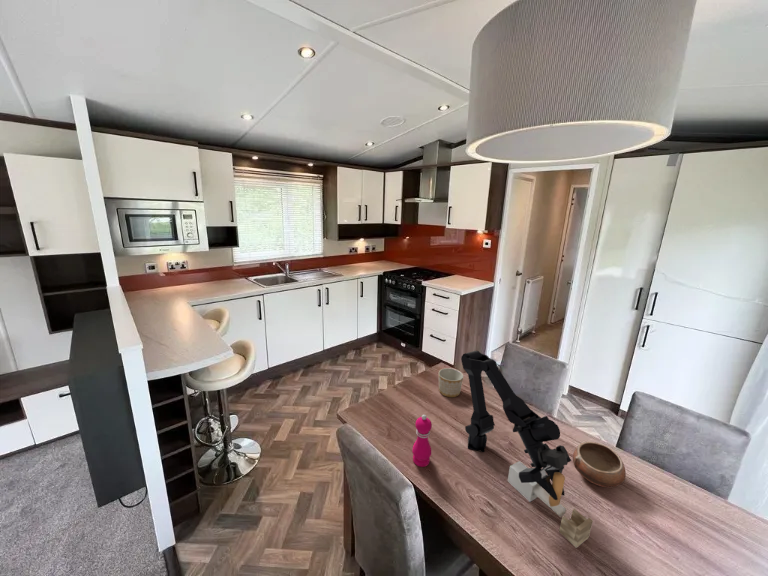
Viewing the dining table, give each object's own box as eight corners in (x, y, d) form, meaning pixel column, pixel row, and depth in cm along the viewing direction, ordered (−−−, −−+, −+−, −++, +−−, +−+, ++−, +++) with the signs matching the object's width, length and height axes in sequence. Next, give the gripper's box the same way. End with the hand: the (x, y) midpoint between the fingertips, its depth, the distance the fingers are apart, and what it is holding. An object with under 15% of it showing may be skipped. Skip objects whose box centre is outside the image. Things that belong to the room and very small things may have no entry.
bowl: (563, 472, 113) (567, 449, 111) (580, 453, 122) (585, 431, 120) (613, 504, 101) (619, 479, 99) (628, 480, 110) (634, 457, 108)
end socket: (559, 531, 92) (562, 514, 90) (571, 522, 95) (575, 505, 93) (576, 548, 88) (580, 530, 86) (588, 537, 90) (592, 520, 89)
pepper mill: (430, 469, 113) (433, 423, 108) (410, 466, 114) (413, 420, 109) (431, 454, 120) (434, 410, 115) (412, 451, 121) (415, 407, 116)
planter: (436, 384, 168) (437, 367, 166) (459, 386, 167) (461, 368, 164) (438, 398, 156) (439, 379, 153) (463, 400, 155) (465, 381, 152)
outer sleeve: (507, 481, 109) (509, 466, 107) (517, 475, 111) (519, 461, 109) (529, 502, 101) (532, 486, 99) (539, 495, 103) (542, 480, 102)
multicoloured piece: (515, 478, 107) (519, 448, 104) (520, 475, 108) (525, 445, 105) (558, 518, 93) (566, 485, 90) (564, 514, 95) (572, 481, 92)
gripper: (532, 450, 90) (562, 512, 83) (570, 430, 99) (600, 485, 92) (507, 454, 99) (532, 510, 92) (544, 435, 107) (569, 485, 101)
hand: (559, 497), depth 94 cm, fingers closed on multicoloured piece, 3 cm apart
